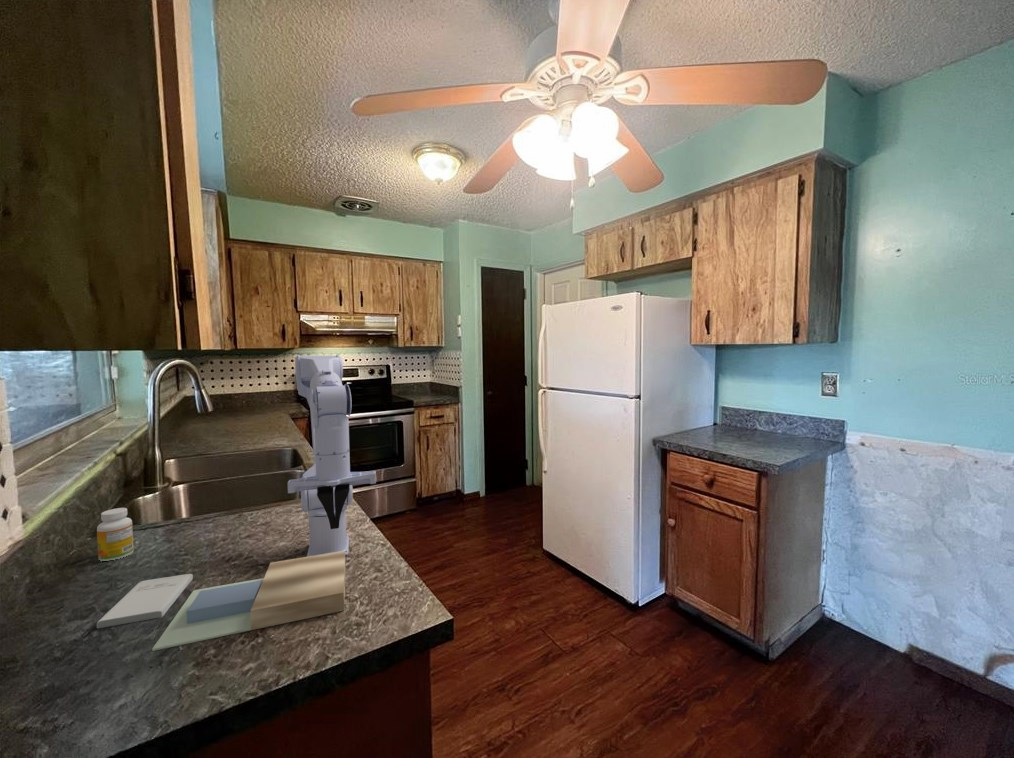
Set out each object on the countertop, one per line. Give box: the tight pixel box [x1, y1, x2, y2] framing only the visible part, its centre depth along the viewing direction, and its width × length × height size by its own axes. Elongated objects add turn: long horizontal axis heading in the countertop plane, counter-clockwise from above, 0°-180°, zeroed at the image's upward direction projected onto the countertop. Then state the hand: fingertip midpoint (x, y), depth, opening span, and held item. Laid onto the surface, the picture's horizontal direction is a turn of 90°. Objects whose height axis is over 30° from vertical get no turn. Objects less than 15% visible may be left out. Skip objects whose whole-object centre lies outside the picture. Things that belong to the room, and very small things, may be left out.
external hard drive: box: [96, 573, 194, 629], centre depth 69 cm, size 2×8×12 cm
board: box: [250, 551, 347, 631], centre depth 71 cm, size 16×13×3 cm
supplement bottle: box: [96, 507, 134, 562], centre depth 86 cm, size 5×5×10 cm
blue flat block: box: [187, 580, 262, 624], centre depth 67 cm, size 6×9×2 cm, turn 111°
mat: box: [151, 577, 264, 652], centre depth 67 cm, size 16×12×1 cm
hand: (335, 526), depth 74 cm, fingers closed
